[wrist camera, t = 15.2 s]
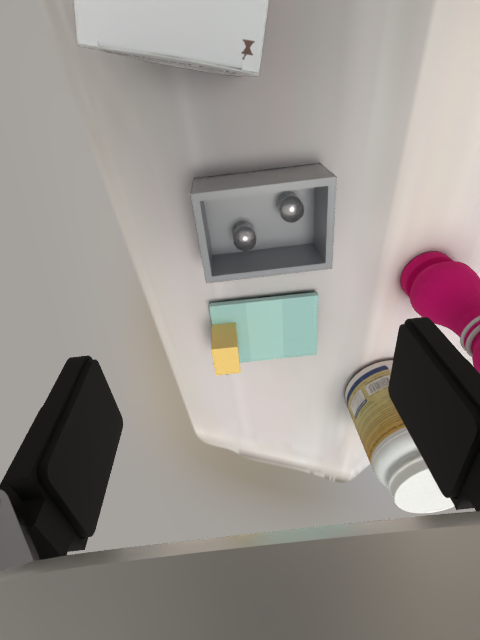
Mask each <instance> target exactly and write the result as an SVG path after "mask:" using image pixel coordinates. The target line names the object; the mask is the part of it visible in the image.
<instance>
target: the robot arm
mask: <svg viewBox="0 0 480 640" xmlns="http://www.w3.org/2000/svg"><path fill="white" fill-rule="evenodd" d="M388 392H389V396H390V399H391V401H392V402H393V404H394V406H395V408H396V410H397V412H398V414H399V415H400V417H401V419H402V421H403V423H404V425H405V426H406V428H407V430H408V432H409V434H410V436H411V438H412V439H413V441H414V443H415V445H416V447H417V449H418V450H419V452H420V454H421V456H422V458H423V460H424V462H425V463H426V465H427V467H428V469H429V471H430V473H431V474H432V476H433V478H434V480H435V482H436V484H437V486H438V487H439V489H440V491H441V493H442V494H443V495H444V497H446V498H450V499H451V501H452V502H453V504H454V506H455V508H456V510H458V509H468V508H475V510H476V511H475V512H463V513H451V514H440V515H427V516H416V517H406V518H397V519H388V520H377V521H367V522H358V523H348V524H338V525H329V526H319V527H310V528H301V529H291V530H283V531H282V530H281V531H272V532H263V533H254V534H244V535H235V536H226V537H217V538H208V539H199V540H191V541H181V542H172V543H163V544H155V545H146V546H138V547H128V548H120V549H112V550H104V551H97V552H89V553H82V554H74V555H67V552H68V551H78V550H85V547H86V543H87V540H88V537H91V536H92V535H93V534H94V532H95V529H96V525H97V522H98V518H99V514H100V510H101V507H102V503H103V499H104V495H105V492H106V488H107V484H108V481H109V477H110V473H111V470H112V466H113V462H114V458H115V455H116V451H117V447H118V443H119V440H120V436H121V432H122V428H123V419H122V416H121V414H120V411H119V409H118V407H117V404H116V402H115V400H114V397H113V395H112V393H111V390H110V388H109V386H108V383H107V381H106V379H105V376H104V374H103V372H102V369H101V367H100V365H99V363H98V361H97V360H92V358H91V357H90V356H81V357H73V358H69V359H68V360H67V362H66V363H65V365H64V367H63V369H62V371H61V373H60V375H59V377H58V379H57V381H56V382H55V385H54V386H53V388H52V390H51V392H50V394H49V396H48V398H47V400H46V402H45V403H44V405H43V407H42V408H41V409H40V411H39V412H38V414H37V416H36V418H35V420H34V422H33V424H32V426H31V428H30V429H29V431H28V433H27V435H26V437H25V439H24V441H23V443H22V445H21V446H20V448H19V450H18V452H17V454H16V456H15V458H14V460H13V461H12V463H11V465H10V467H9V469H8V471H7V473H6V475H5V476H4V479H3V480H2V482H1V484H0V640H480V373H479V372H478V371H477V370H476V369H475V368H474V367H473V366H472V364H471V363H470V362H469V361H468V360H466V359H465V358H464V357H463V356H462V354H461V353H460V352H459V351H458V350H457V349H456V348H455V347H454V345H453V344H452V343H451V342H450V341H449V340H448V339H447V338H446V336H445V335H444V334H443V333H442V332H441V331H440V330H439V328H438V327H437V326H436V325H435V324H434V323H433V322H432V321H431V319H429V318H428V317H421V318H413V319H407V320H406V321H405V324H402V325H400V327H399V332H398V337H397V342H396V348H395V353H394V359H393V364H392V369H391V375H390V380H389V386H388Z"/></svg>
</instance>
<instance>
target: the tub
mask: <svg viewBox="0 0 480 640" xmlns="http://www.w3.org/2000/svg"><path fill="white" fill-rule="evenodd" d="M336 179H337V177H336V176H335V175H334V174H333V173H332V172H330V171H329V170H328V169H327V168H326V167H324V166H323V165H322V164H321V163H317V164H309V165H301V166H292V167H284V168H276V169H268V170H259V171H251V172H243V173H234V174H226V175H218V176H209V177H201V178H194V180H193V185H192V189H191V200H192V206H193V212H194V217H195V223H196V229H197V234H198V240H199V246H200V251H201V257H202V263H203V268H204V274H205V280H206V283H213V282H221V281H230V280H238V279H247V278H256V277H264V276H273V275H281V274H290V273H299V272H307V271H316V270H324V269H332V261H333V240H334V220H335V199H336ZM286 192H292V193H295V194H296V195H297V196H298V198H299V199H300V201H301V202H302V204H303V206H304V213H303V216H302V217H301V218H300V219H299V220H298V221H296V222H293V223H290V222H286V221H285V220H283V218H282V217H281V215H280V213H279V210H278V208H277V201H278V199H279V197H280V196H281V195H282V194H284V193H286ZM241 221H247V222H249V223H251V224H252V225H253V227H254V230H255V235H256V244H255V246H254V247H253V248H252V249H251V250H249V251H241V250H239V249H237V248H236V247H235V245H234V240H233V228H234V226H235V225H236V224H237V223H238V222H241Z"/></svg>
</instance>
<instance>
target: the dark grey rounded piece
mask: <svg viewBox="0 0 480 640" xmlns="http://www.w3.org/2000/svg"><path fill="white" fill-rule="evenodd" d="M233 240H234V245H235V247H236V248H237V249H239V250H241V251H249V250H251V249H252V248H253V247H254V246H255V244H256V235H255V230H254V227H253V225H252V224H251V223H249V222H247V221H241V222H238V223H237V224H236V225H235V226H234V228H233Z"/></svg>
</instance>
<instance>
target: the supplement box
mask: <svg viewBox="0 0 480 640" xmlns="http://www.w3.org/2000/svg"><path fill="white" fill-rule="evenodd" d="M73 1H74V13H75V26H76V38H77V44H78V45H79V46H81V47H85V48H90V49H95V50H99V51H104V52H109V53H114V54H118V55H123V56H128V57H132V58H137V59H141V60H144V61H148V62H152V63H157V64H163V65H169V66H174V67H180V68H186V69H192V70H198V71H204V72H211V73H217V74H225V75H233V76H258V75H259V71H260V63H261V55H262V48H263V40H264V33H265V25H266V18H267V11H268V3H269V0H73Z"/></svg>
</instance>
